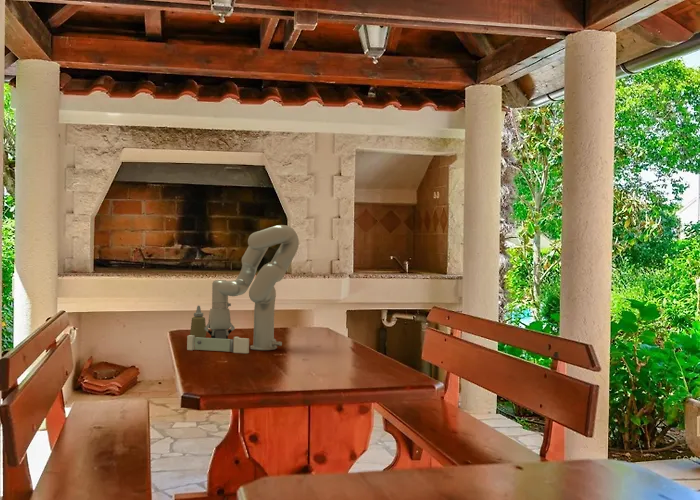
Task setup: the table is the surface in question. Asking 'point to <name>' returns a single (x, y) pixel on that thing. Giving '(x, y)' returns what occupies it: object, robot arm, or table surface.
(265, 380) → the table surface
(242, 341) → the pale rectangular blocks
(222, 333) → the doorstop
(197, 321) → the squeeze bottle
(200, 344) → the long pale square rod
